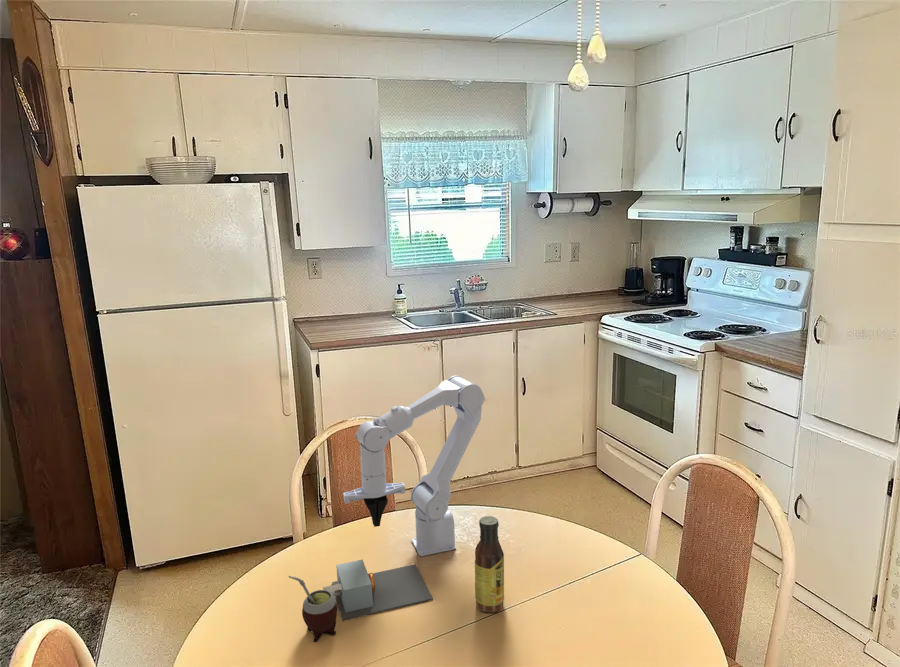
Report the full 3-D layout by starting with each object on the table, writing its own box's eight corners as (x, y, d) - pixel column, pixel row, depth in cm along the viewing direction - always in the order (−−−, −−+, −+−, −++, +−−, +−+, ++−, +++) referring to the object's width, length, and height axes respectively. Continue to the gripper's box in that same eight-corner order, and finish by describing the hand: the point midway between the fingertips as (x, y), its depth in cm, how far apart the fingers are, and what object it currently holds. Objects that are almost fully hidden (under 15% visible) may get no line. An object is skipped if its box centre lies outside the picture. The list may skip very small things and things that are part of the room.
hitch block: (363, 581, 146) (362, 559, 145) (373, 607, 137) (371, 584, 136) (337, 587, 144) (336, 564, 143) (345, 614, 135) (343, 590, 134)
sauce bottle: (502, 616, 133) (501, 530, 129) (473, 612, 135) (471, 527, 130) (505, 596, 140) (505, 514, 135) (477, 594, 141) (476, 512, 137)
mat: (415, 565, 152) (415, 564, 152) (433, 599, 139) (433, 598, 139) (332, 583, 146) (332, 582, 146) (342, 621, 133) (342, 619, 133)
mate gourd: (344, 623, 132) (340, 559, 129) (327, 649, 125) (322, 581, 122) (312, 618, 134) (307, 554, 131) (293, 643, 127) (287, 576, 124)
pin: (371, 585, 144) (370, 569, 143) (375, 595, 140) (374, 579, 139) (323, 595, 140) (321, 579, 139) (325, 606, 137) (324, 590, 136)
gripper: (399, 460, 155) (401, 511, 158) (339, 470, 151) (343, 522, 154) (406, 472, 149) (408, 524, 152) (345, 482, 144) (348, 536, 147)
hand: (376, 524), depth 152 cm, fingers closed
